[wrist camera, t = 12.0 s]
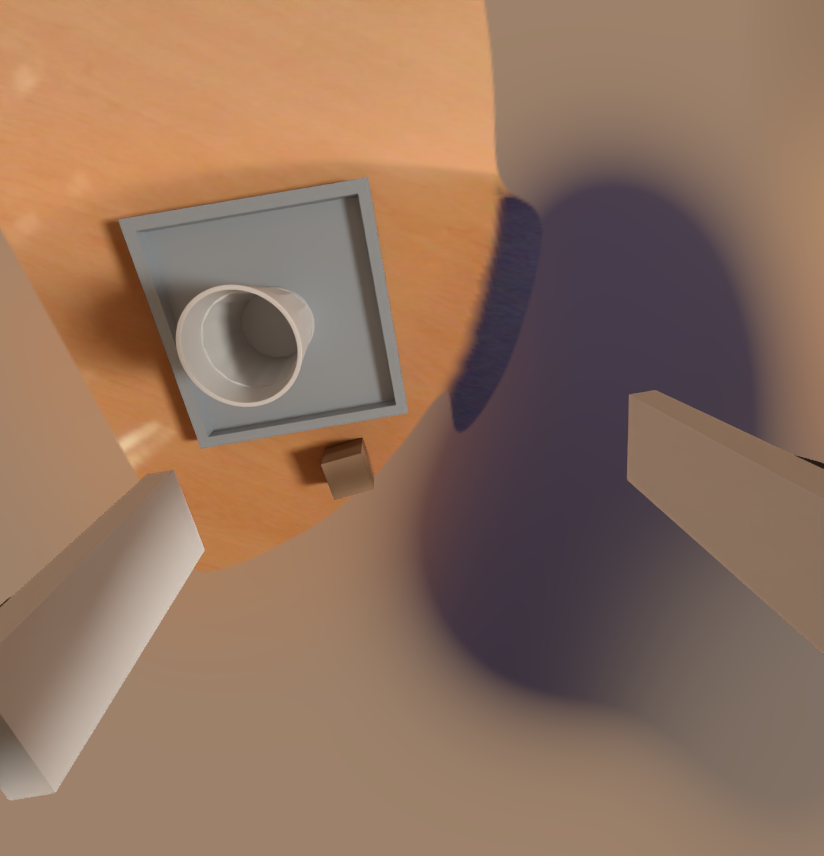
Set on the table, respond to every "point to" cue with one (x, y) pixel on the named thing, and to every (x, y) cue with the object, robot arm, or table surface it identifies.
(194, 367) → the cup
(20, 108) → the table surface
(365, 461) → the walnut block
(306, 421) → the tray
